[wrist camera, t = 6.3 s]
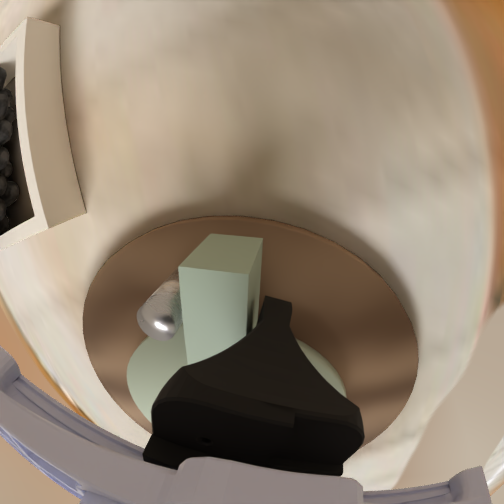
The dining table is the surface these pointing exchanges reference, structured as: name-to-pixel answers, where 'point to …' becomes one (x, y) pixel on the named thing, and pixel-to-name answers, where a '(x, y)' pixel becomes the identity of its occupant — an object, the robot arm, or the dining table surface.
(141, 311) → the dowel
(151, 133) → the dining table surface
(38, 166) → the fruit frame
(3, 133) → the fruit
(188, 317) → the flange plate
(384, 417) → the base board
